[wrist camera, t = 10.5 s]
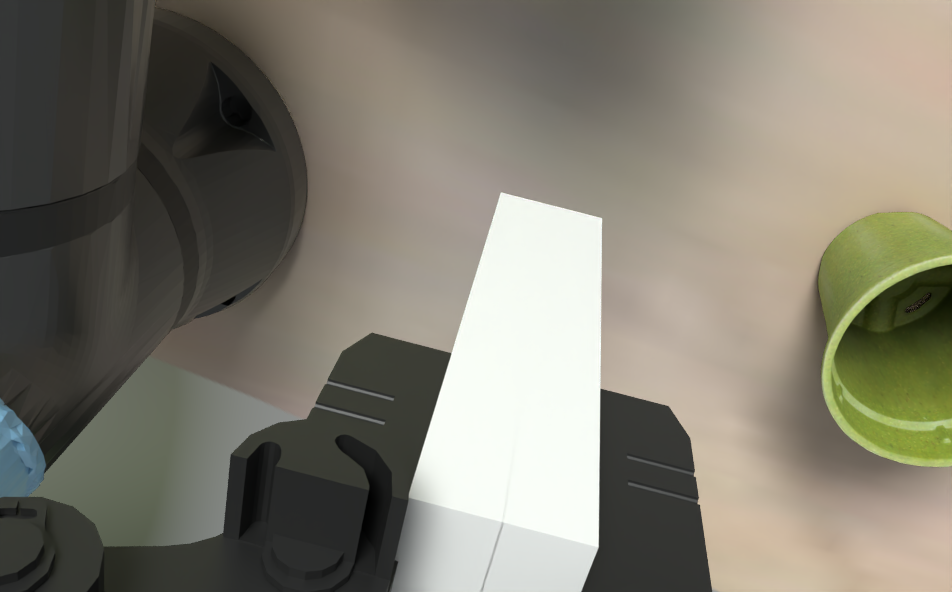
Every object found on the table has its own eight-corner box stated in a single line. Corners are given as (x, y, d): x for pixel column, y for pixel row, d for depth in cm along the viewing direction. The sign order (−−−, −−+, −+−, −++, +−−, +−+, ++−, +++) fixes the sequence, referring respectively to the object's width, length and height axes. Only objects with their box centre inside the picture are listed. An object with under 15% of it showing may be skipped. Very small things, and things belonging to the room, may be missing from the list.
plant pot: (902, 129, 36) (981, 203, 29) (1043, 262, 38) (1152, 365, 31) (738, 274, 41) (769, 372, 33) (873, 388, 42) (931, 505, 35)
